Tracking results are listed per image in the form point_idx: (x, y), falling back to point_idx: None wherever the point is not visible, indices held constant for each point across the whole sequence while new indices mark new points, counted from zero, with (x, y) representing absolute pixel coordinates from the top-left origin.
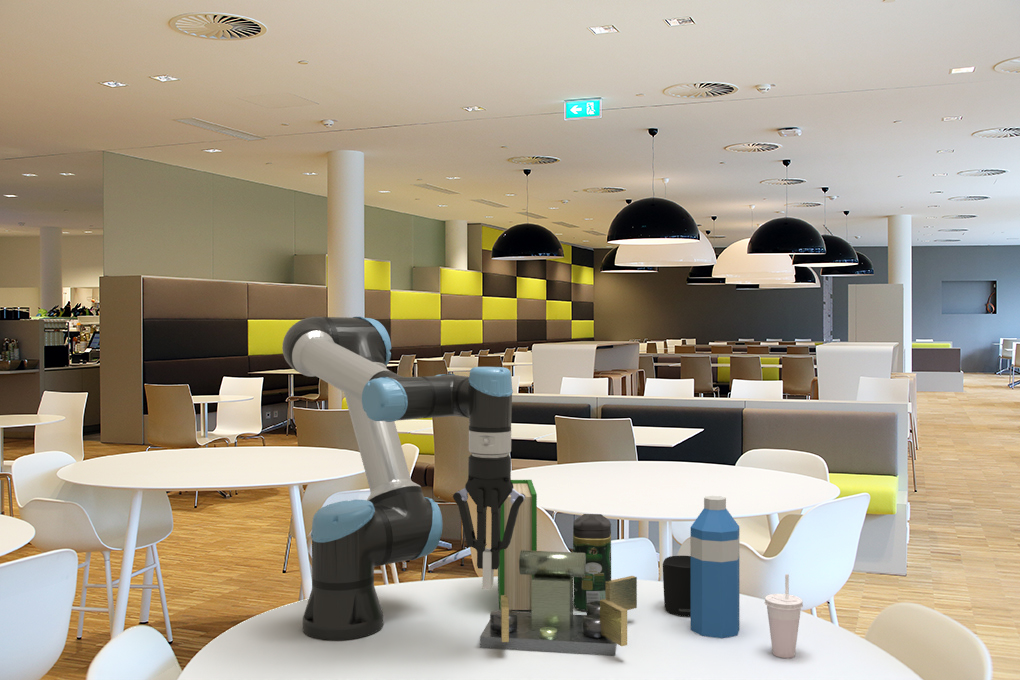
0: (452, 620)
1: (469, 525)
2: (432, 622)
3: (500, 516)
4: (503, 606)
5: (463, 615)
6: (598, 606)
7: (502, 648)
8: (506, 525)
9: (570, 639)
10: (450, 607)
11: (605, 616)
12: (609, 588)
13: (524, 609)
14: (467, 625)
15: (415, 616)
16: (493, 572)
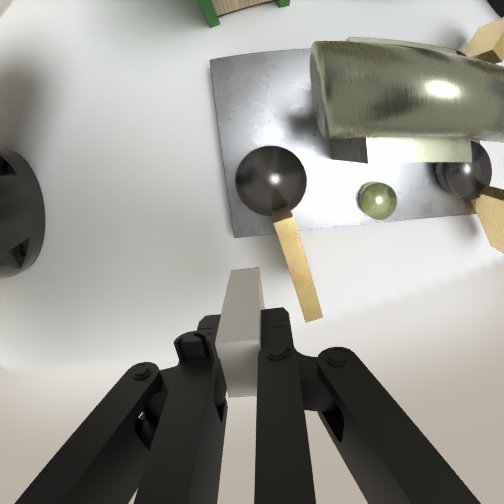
0: (127, 99)
1: (136, 486)
2: (97, 126)
3: (315, 501)
4: (308, 315)
5: (138, 63)
6: None
7: None
8: (363, 491)
9: (417, 206)
10: (102, 36)
11: (496, 214)
12: (493, 63)
13: (260, 2)
14: (165, 114)
15: (61, 111)
16: (259, 289)
